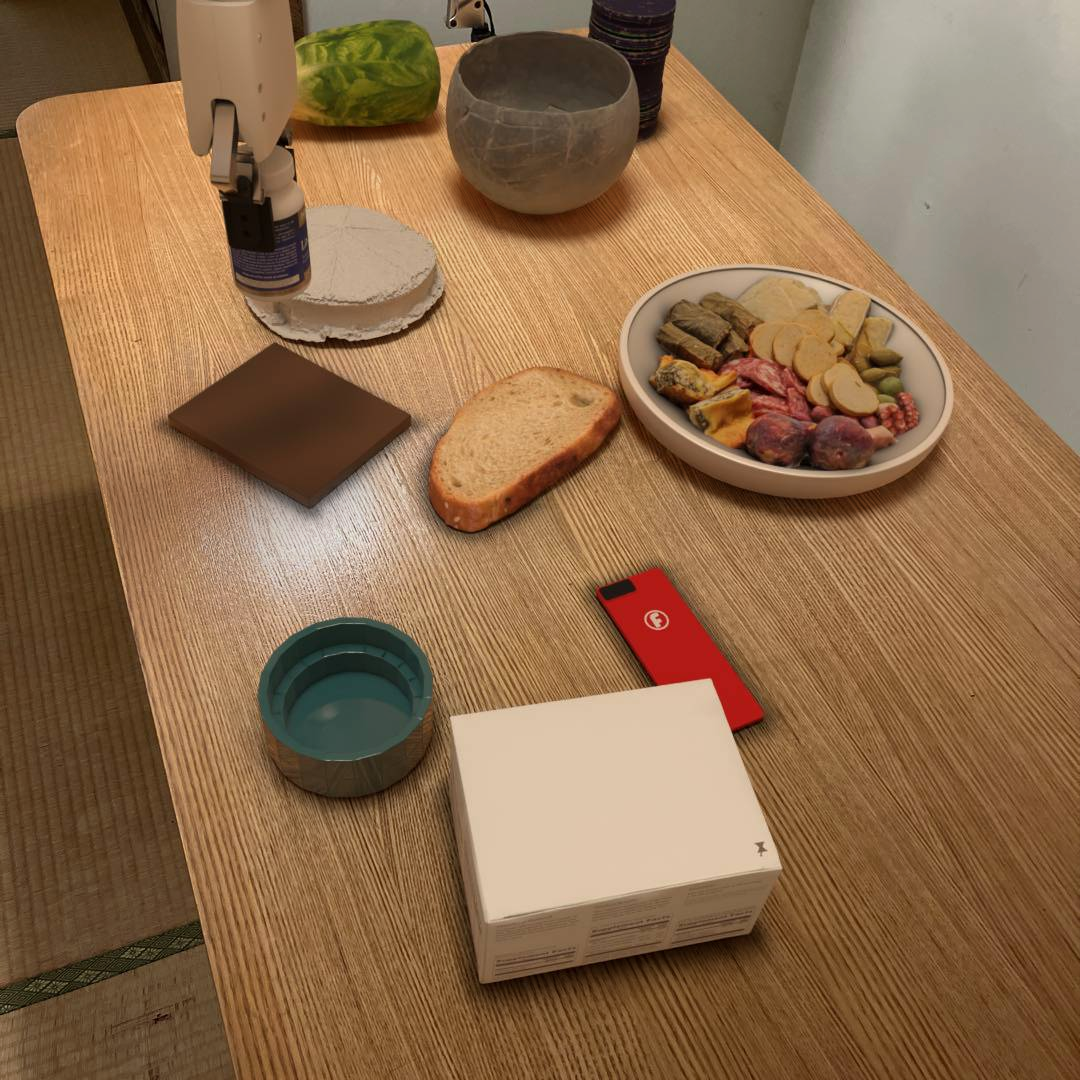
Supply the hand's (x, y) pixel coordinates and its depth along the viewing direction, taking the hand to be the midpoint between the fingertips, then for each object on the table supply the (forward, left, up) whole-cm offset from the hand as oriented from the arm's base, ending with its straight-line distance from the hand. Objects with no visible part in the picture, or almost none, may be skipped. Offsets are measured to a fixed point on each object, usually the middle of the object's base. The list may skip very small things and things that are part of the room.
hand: (264, 220), depth 76 cm
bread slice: (+17, +11, -21) cm, 29 cm away
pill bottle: (0, 0, -5) cm, 5 cm away
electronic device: (+38, 0, -21) cm, 43 cm away
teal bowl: (+23, -19, -21) cm, 36 cm away
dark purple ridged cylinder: (-8, +67, -21) cm, 71 cm away
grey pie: (-11, +19, -21) cm, 31 cm away
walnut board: (-1, +1, -21) cm, 21 cm away
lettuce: (-32, +45, -21) cm, 60 cm away
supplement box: (+41, -17, -21) cm, 49 cm away
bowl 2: (+31, +31, -21) cm, 49 cm away
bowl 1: (-6, +46, -21) cm, 51 cm away
